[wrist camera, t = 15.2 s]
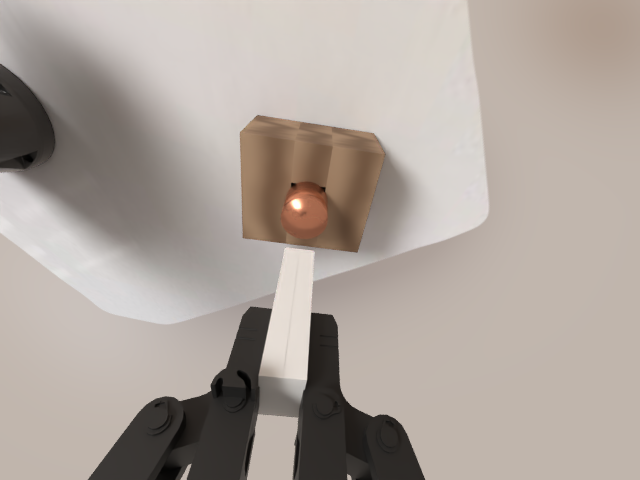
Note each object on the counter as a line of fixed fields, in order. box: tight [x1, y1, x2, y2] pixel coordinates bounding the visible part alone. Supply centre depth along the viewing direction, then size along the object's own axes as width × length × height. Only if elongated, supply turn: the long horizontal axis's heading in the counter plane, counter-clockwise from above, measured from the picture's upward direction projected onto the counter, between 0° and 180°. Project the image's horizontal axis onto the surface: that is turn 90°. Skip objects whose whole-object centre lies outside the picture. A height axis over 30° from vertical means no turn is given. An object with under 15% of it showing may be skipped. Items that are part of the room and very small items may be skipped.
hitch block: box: [240, 115, 385, 252], centre depth 37 cm, size 16×14×9 cm
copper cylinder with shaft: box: [281, 182, 328, 239], centre depth 34 cm, size 5×5×10 cm
